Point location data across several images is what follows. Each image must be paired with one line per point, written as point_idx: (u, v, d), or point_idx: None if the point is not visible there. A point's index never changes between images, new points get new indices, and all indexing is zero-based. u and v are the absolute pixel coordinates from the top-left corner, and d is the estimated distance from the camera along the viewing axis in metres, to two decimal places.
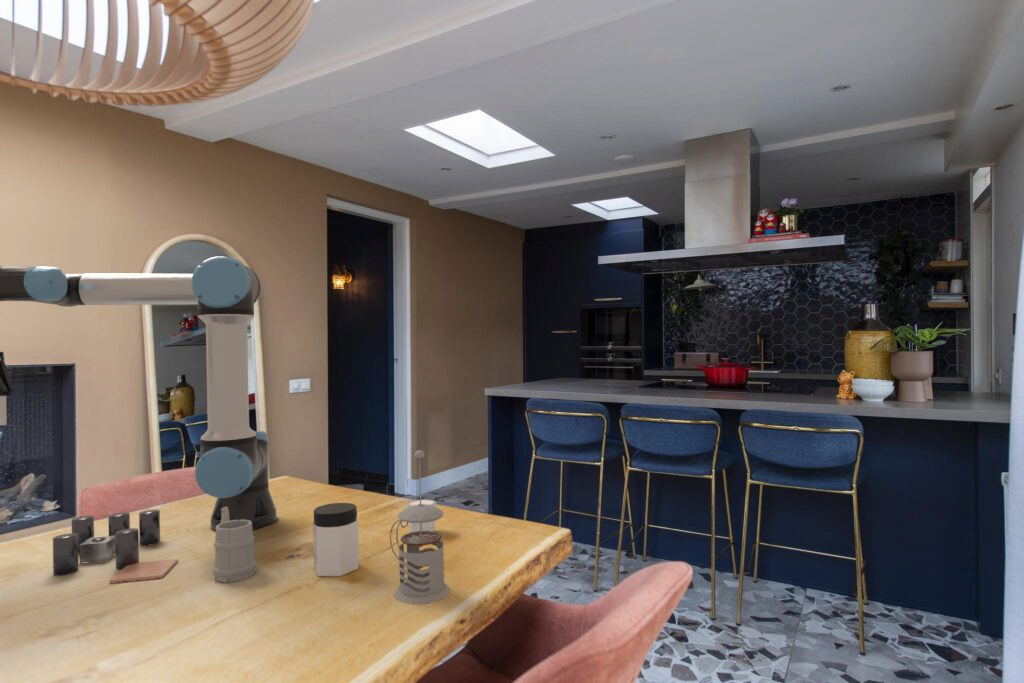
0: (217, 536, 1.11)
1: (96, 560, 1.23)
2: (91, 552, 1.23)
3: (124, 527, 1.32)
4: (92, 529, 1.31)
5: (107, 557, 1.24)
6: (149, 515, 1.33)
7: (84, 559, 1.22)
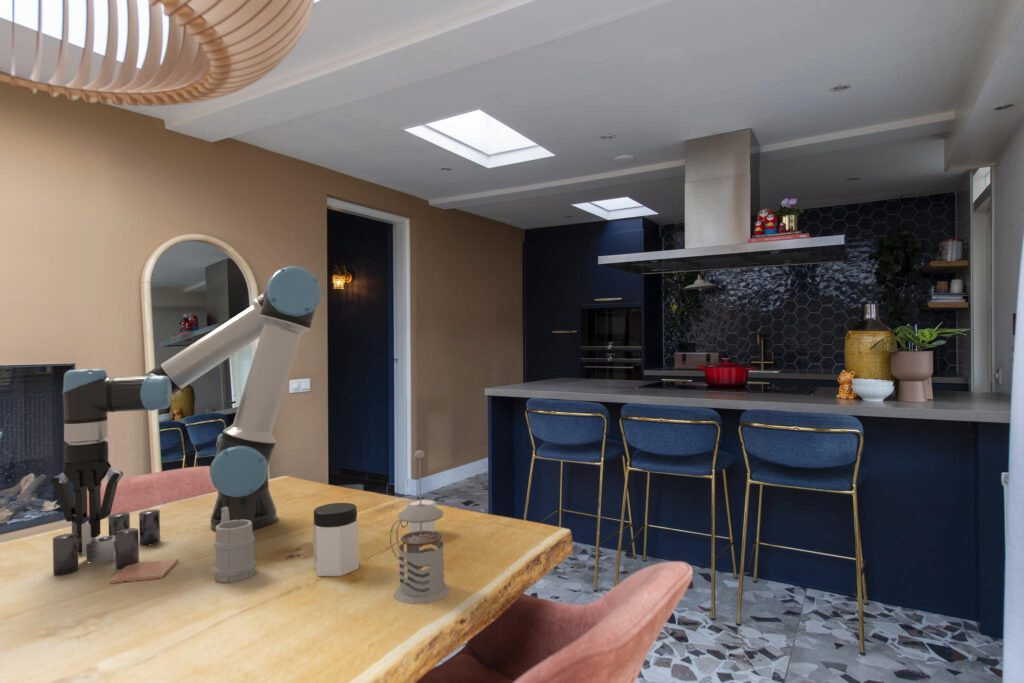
0: (217, 536, 1.11)
1: (103, 560, 1.23)
2: (98, 551, 1.23)
3: (124, 527, 1.32)
4: None
5: (114, 556, 1.24)
6: (149, 515, 1.33)
7: (91, 558, 1.22)
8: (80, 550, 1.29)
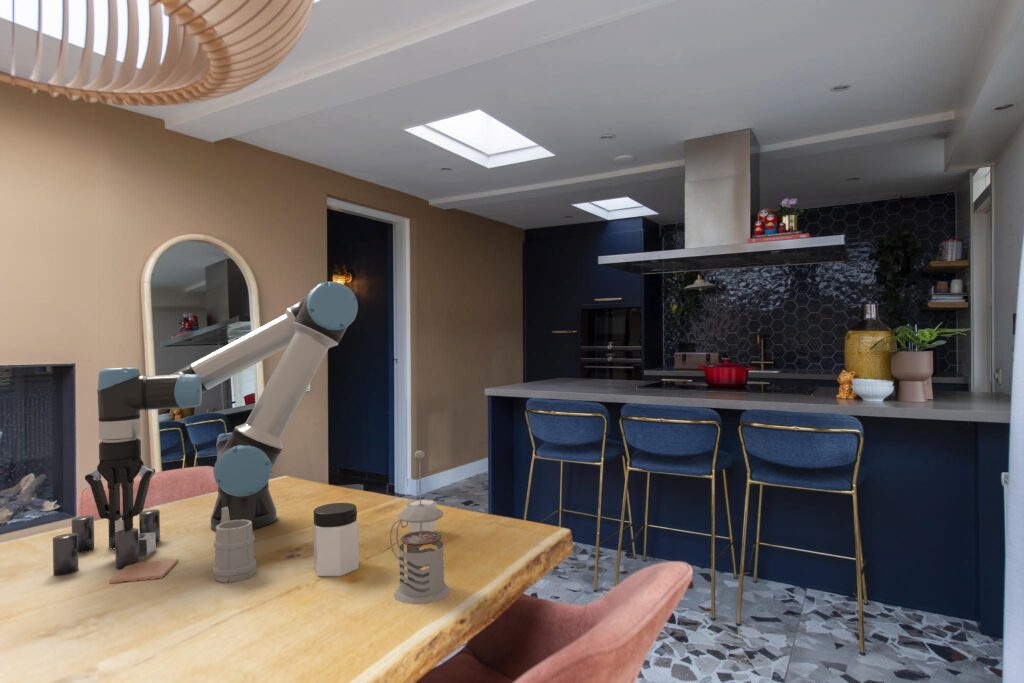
0: (217, 536, 1.11)
1: None
2: None
3: None
4: (92, 529, 1.31)
5: (147, 553, 1.25)
6: (149, 515, 1.33)
7: None
8: (80, 550, 1.29)
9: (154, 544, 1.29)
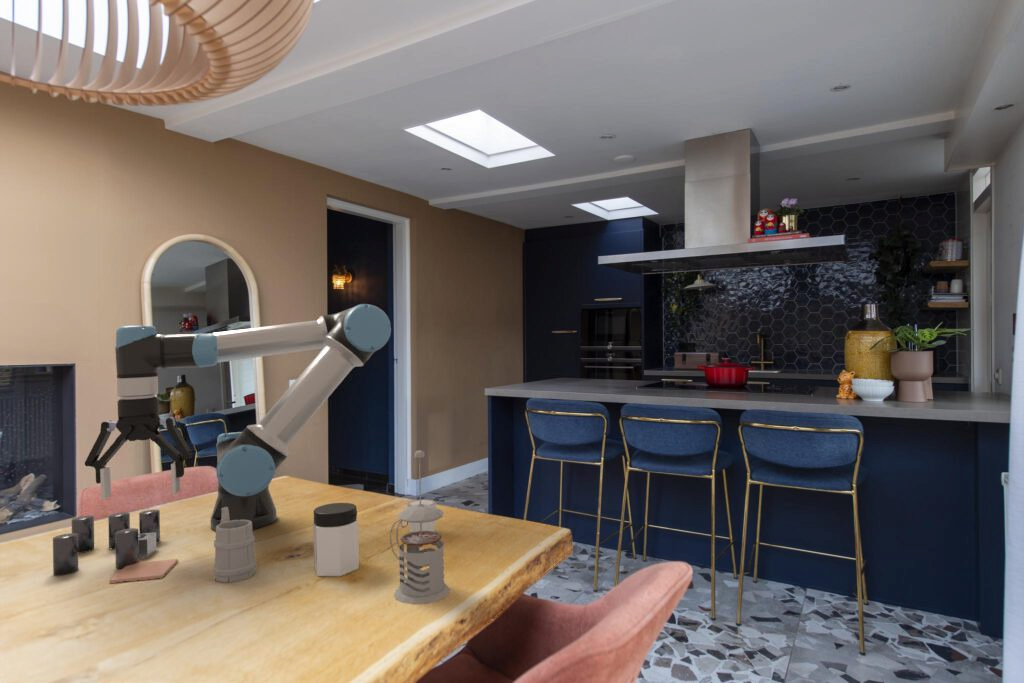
0: (217, 536, 1.11)
1: None
2: None
3: (124, 527, 1.32)
4: (92, 529, 1.31)
5: (148, 553, 1.25)
6: (149, 515, 1.33)
7: None
8: (80, 550, 1.29)
9: (155, 544, 1.29)
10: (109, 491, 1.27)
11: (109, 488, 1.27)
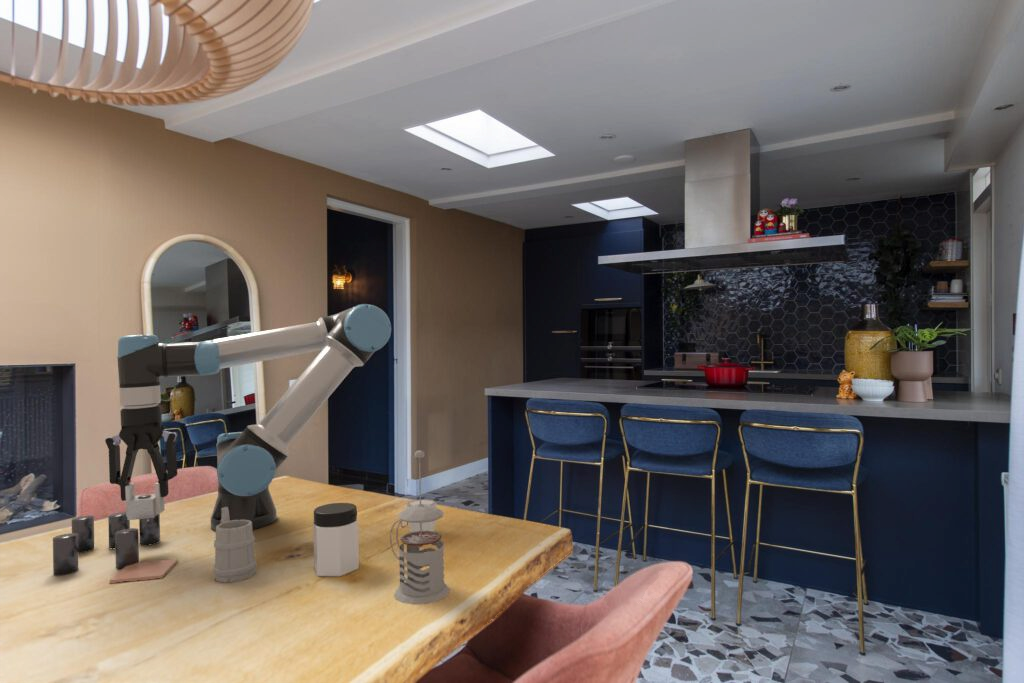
0: (217, 536, 1.11)
1: (143, 516, 1.25)
2: (138, 508, 1.25)
3: (124, 527, 1.32)
4: (92, 529, 1.31)
5: (154, 513, 1.26)
6: None
7: (132, 515, 1.24)
8: (80, 550, 1.29)
9: None
10: None
11: None
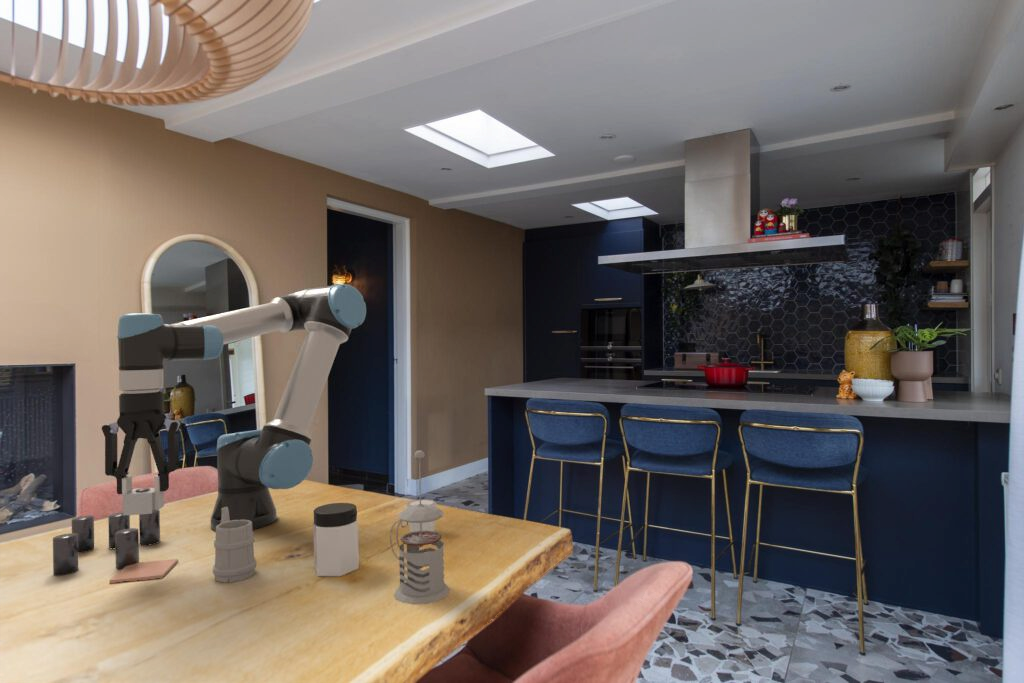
0: (217, 536, 1.11)
1: (141, 512, 1.14)
2: (135, 502, 1.14)
3: (124, 527, 1.32)
4: (92, 529, 1.31)
5: (152, 508, 1.15)
6: (149, 515, 1.33)
7: (128, 510, 1.13)
8: (80, 550, 1.29)
9: None
10: None
11: None
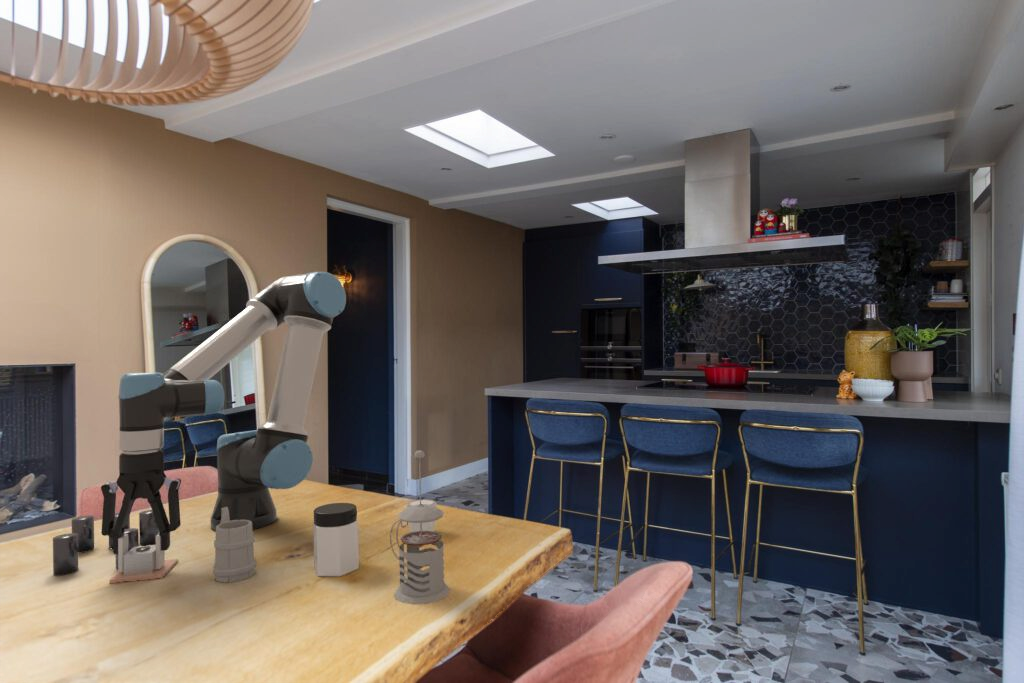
0: (217, 536, 1.11)
1: (141, 572, 1.14)
2: (136, 562, 1.13)
3: None
4: (92, 529, 1.31)
5: (153, 568, 1.15)
6: (149, 515, 1.33)
7: (128, 570, 1.13)
8: (80, 550, 1.29)
9: None
10: None
11: None
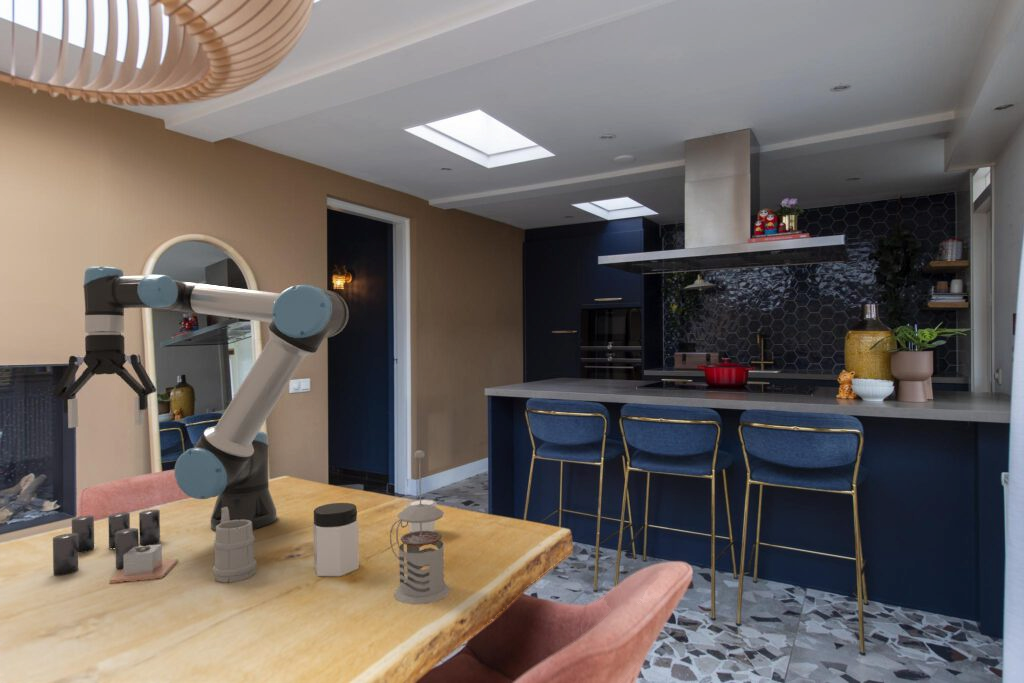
0: (217, 536, 1.11)
1: (141, 572, 1.14)
2: (136, 562, 1.13)
3: (124, 527, 1.32)
4: (92, 529, 1.31)
5: (153, 568, 1.15)
6: (149, 515, 1.33)
7: (128, 570, 1.13)
8: (80, 550, 1.29)
9: (160, 557, 1.18)
10: (76, 421, 1.36)
11: (76, 418, 1.36)
